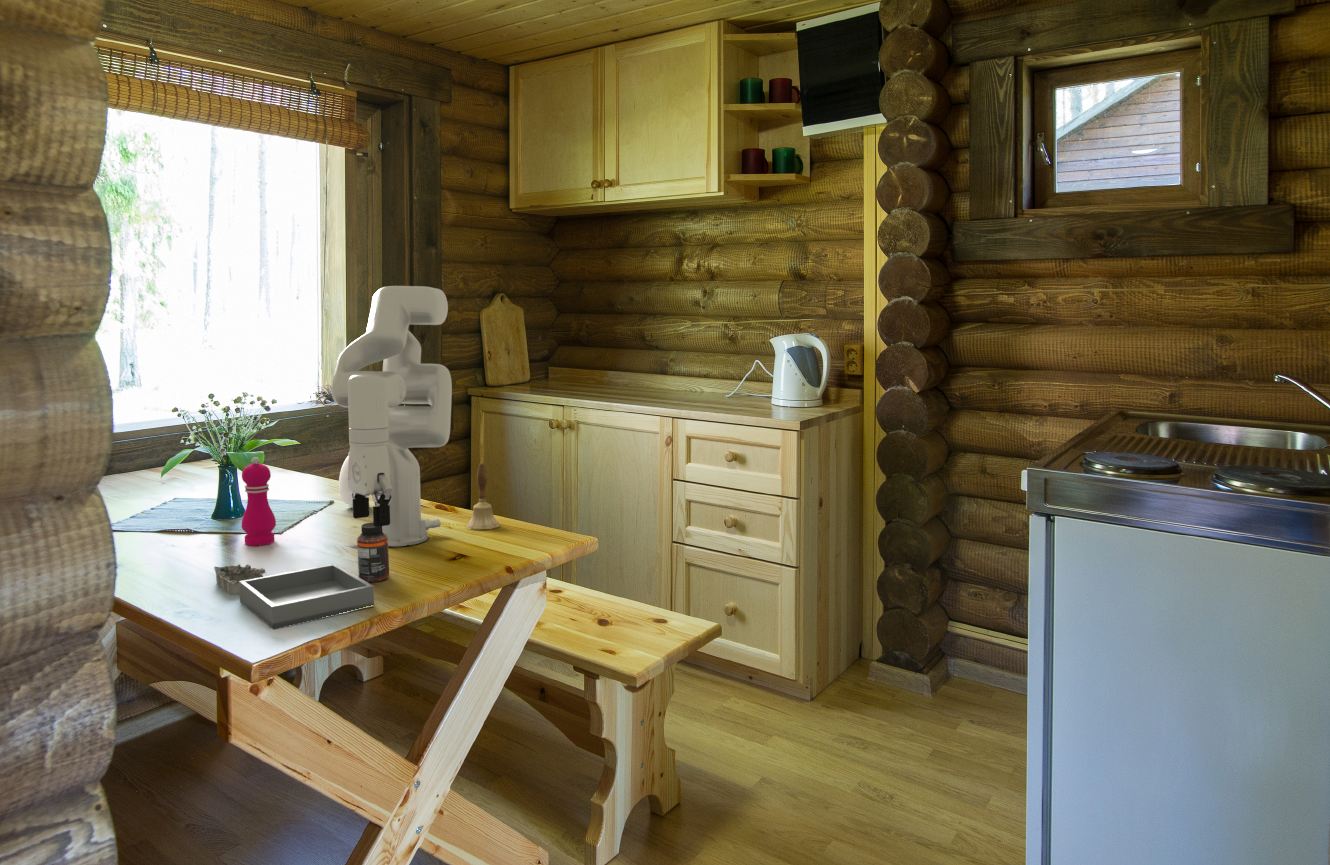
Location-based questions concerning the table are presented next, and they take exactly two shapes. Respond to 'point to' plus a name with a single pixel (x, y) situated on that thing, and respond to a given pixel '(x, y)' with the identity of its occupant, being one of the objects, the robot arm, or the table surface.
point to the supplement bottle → (372, 553)
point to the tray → (305, 595)
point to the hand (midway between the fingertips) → (371, 521)
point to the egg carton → (235, 576)
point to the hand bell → (482, 505)
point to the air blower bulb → (345, 484)
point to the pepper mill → (257, 505)
